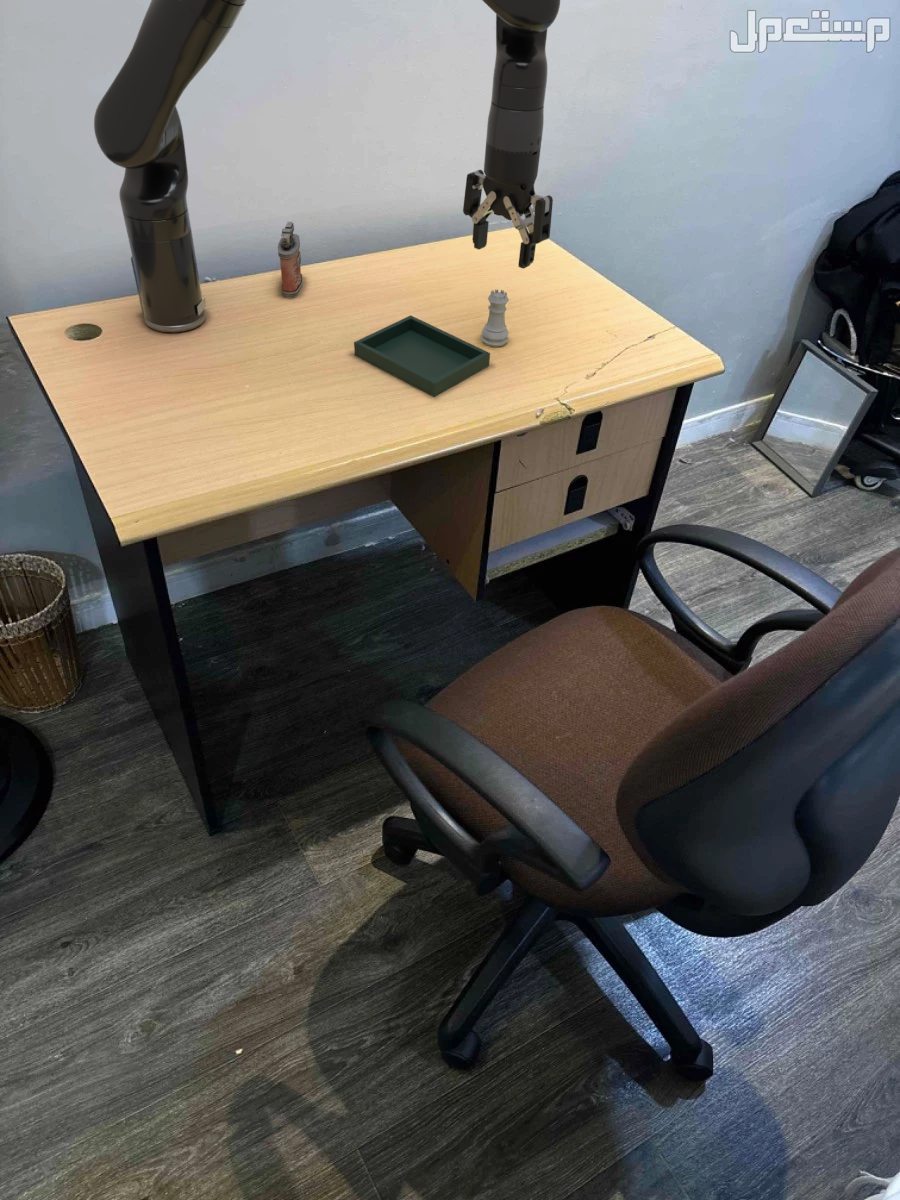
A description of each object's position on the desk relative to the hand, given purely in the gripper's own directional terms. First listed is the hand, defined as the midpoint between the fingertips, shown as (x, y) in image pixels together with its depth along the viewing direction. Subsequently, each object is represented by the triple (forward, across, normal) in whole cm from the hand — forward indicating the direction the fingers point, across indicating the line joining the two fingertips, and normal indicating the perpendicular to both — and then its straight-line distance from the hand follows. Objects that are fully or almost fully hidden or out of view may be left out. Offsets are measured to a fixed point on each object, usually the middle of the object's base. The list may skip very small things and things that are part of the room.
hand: (502, 257), depth 130 cm
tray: (+14, -4, -13) cm, 19 cm away
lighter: (+14, -36, -11) cm, 40 cm away
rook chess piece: (+14, 0, 0) cm, 14 cm away
